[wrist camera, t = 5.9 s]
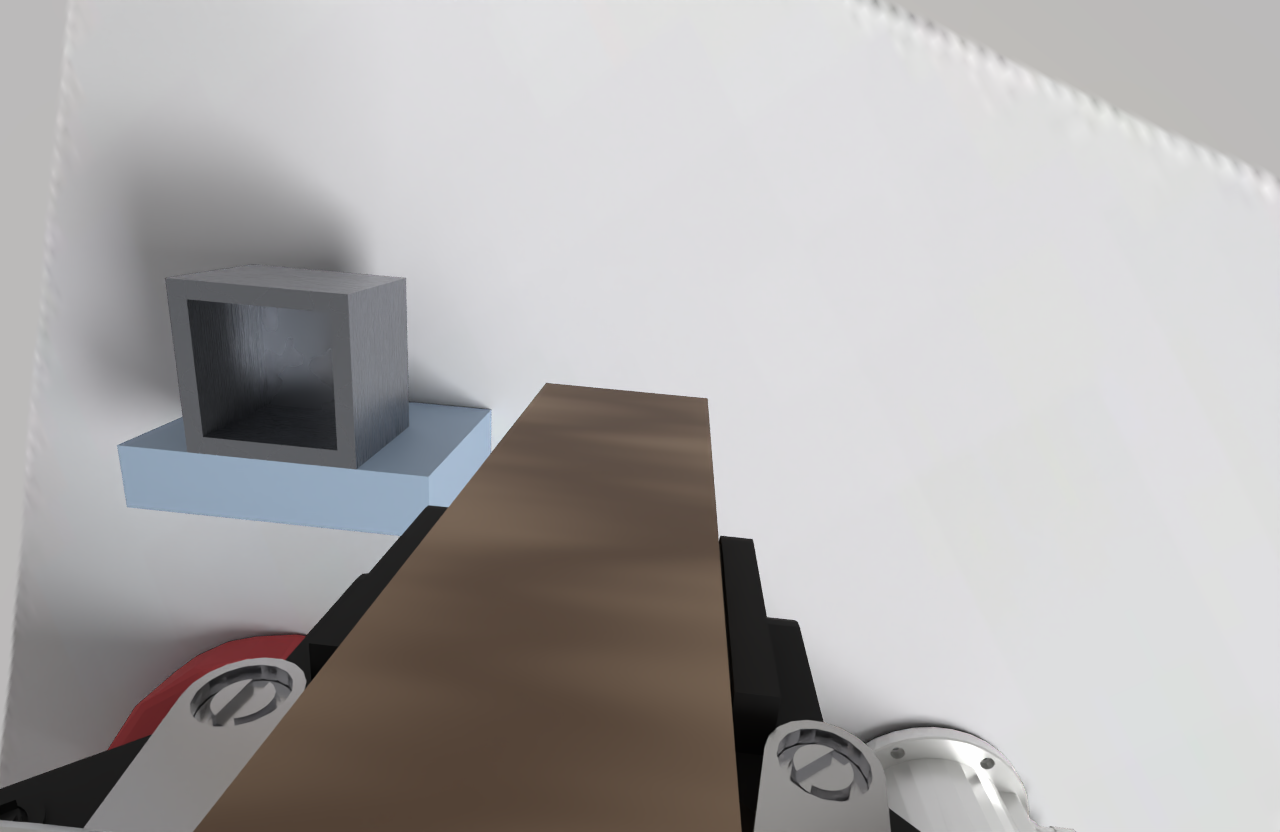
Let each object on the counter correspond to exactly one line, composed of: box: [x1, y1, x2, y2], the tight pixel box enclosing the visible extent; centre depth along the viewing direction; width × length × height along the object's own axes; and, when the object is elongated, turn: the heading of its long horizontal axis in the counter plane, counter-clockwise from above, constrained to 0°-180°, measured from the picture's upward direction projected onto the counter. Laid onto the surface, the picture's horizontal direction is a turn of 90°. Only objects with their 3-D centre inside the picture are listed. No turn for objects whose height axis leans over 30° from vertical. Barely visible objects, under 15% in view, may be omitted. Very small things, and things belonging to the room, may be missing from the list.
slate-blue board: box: [117, 402, 491, 536], centre depth 36 cm, size 14×3×10 cm, turn 86°
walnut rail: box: [193, 383, 742, 832], centre depth 10 cm, size 4×4×16 cm
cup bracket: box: [165, 264, 409, 469], centre depth 32 cm, size 8×8×6 cm
